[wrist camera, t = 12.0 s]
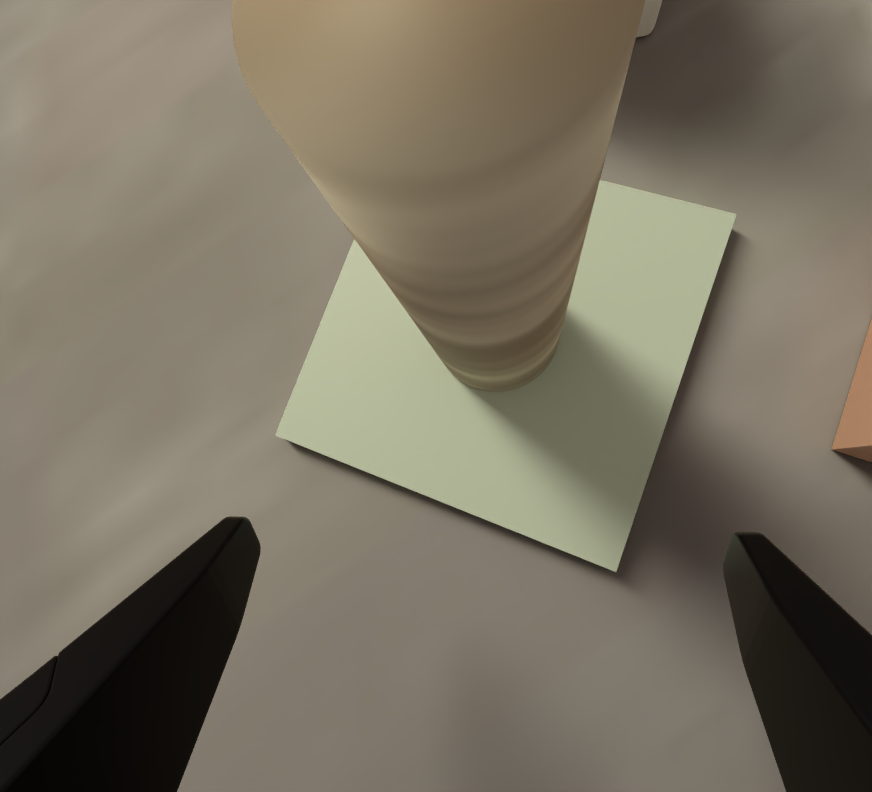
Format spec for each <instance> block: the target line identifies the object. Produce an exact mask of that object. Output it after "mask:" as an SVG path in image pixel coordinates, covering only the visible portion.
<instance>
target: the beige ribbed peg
mask: <svg viewBox="0 0 872 792" xmlns="http://www.w3.org/2000/svg"><path fill="white" fill-rule="evenodd" d="M644 4H645V0H233V14H232V28H233V37H234V46H235V50H236V54H237V58H238V62H239V66H240V69H241V72H242V74H243V76H244V78H245V81H246V83H247V85H248V88H249V90H250V91H251V93H252V95H253V96H254V98H255V99H256V101H257V103H258V104H259V106H260V107H261V109H262V110H263V112H264V113H265V114H266V116H267V117H268V119H269V120H270V121H271V123H272V124H273V126H274V127H275V128H276V130H277V131H278V133H279V134H280V135H281V137H282V138H283V140H284V141H285V142H286V144H287V145H288V147H289V148H290V149H291V151H292V152H293V154H294V155H295V156H296V158H297V159H298V161H299V162H300V163H301V165H302V166H303V168H304V169H305V170H306V172H307V173H308V175H309V176H310V177H311V179H312V180H313V182H314V183H315V184H316V186H317V187H318V189H319V190H320V191H321V193H322V194H323V196H324V197H325V198H326V200H327V201H328V203H329V204H330V205H331V207H332V208H333V210H334V211H335V212H336V214H337V215H338V217H339V218H340V219H341V221H342V222H343V224H344V225H345V226H346V228H347V229H348V231H349V232H350V233H351V235H352V236H353V238H354V239H355V240H356V242H357V243H358V245H359V246H360V247H361V249H362V250H363V252H364V253H365V254H366V256H367V257H368V258H369V260H370V261H371V263H372V264H373V265H374V267H375V268H376V270H377V271H378V272H379V274H380V275H381V277H382V278H383V279H384V281H385V282H386V284H387V285H388V286H389V288H390V289H391V291H392V292H393V293H394V295H395V296H396V298H397V299H398V300H399V302H400V303H401V305H402V306H403V307H404V309H405V310H406V312H407V313H408V314H409V316H410V317H411V319H412V320H413V321H414V323H415V324H416V326H417V327H418V328H419V330H420V331H421V333H422V334H423V335H424V337H425V338H426V340H427V341H428V342H429V344H430V345H431V347H432V348H433V349H434V351H435V352H436V354H437V355H438V356H439V358H440V359H441V361H442V362H443V363H444V365H445V366H446V368H447V369H448V370H449V371H450V372H451V373H452V374H453V375H454V376H455V377H456V378H457V379H458V380H460V381H461V382H463V383H464V384H466V385H468V386H470V387H473V388H476V389H479V390H484V391H491V392H501V391H508V390H513V389H516V388H519V387H521V386H523V385H526V384H528V383H529V382H531V381H532V380H534V379H535V378H536V377H537V376H539V375H540V374H541V373H542V372H543V371H544V370H545V369H546V367H547V366H548V365H549V363H550V362H551V360H552V358H553V356H554V354H555V352H556V349H557V346H558V342H559V338H560V335H561V331H562V327H563V323H564V319H565V315H566V311H567V307H568V303H569V299H570V295H571V291H572V287H573V283H574V279H575V276H576V272H577V268H578V264H579V260H580V256H581V252H582V248H583V244H584V240H585V236H586V232H587V228H588V224H589V220H590V217H591V213H592V209H593V205H594V201H595V197H596V193H597V189H598V185H599V181H600V177H601V173H602V169H603V165H604V161H605V158H606V154H607V150H608V146H609V142H610V138H611V134H612V130H613V126H614V122H615V118H616V114H617V110H618V106H619V102H620V99H621V95H622V91H623V87H624V83H625V79H626V75H627V71H628V67H629V63H630V59H631V55H632V51H633V47H634V43H635V40H636V36H637V32H638V28H639V24H640V20H641V16H642V12H643V8H644Z"/></svg>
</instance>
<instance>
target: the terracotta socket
mask: <svg viewBox="0 0 872 792" xmlns="http://www.w3.org/2000/svg"><path fill="white" fill-rule="evenodd" d="M832 450H835V451H838V452H841V453H844V454H847V455H850V456H853V457H856V458H860V459H863V460H866V461H869V462H872V319H871V322H870V326H869V329H868V332H867V335H866V339H865V342H864V345H863V348H862V352H861V355H860V358H859V361H858V365H857V368H856V371H855V374H854V378H853V381H852V384H851V387H850V391H849V394H848V397H847V401H846V404H845V407H844V410H843V414H842V417H841V420H840V423H839V427H838V430H837V433H836V436H835V440H834V443H833V446H832Z"/></svg>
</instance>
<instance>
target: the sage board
mask: <svg viewBox="0 0 872 792" xmlns="http://www.w3.org/2000/svg"><path fill="white" fill-rule="evenodd" d="M736 215H737V214H734V213H730V212H726V211H722V210H718V209H714V208H710V207H706V206H702V205H698V204H694V203H690V202H686V201H682V200H678V199H674V198H670V197H666V196H662V195H658V194H654V193H650V192H646V191H642V190H638V189H634V188H630V187H626V186H622V185H618V184H614V183H610V182H606V181H602V180H600V181H599V185H598V189H597V193H596V197H595V201H594V205H593V209H592V213H591V217H590V220H589V224H588V228H587V232H586V236H585V240H584V244H583V248H582V252H581V256H580V260H579V264H578V268H577V272H576V276H575V279H574V283H573V287H572V291H571V295H570V299H569V303H568V307H567V311H566V315H565V319H564V323H563V327H562V331H561V335H560V338H559V342H558V346H557V349H556V352H555V354H554V356H553V358H552V360H551V362H550V363H549V365H548V366H547V367H546V369H545V370H544V371H543V372H542V373H541V374H540V375H539V376H537V377H536V378H535V379H534V380H532V381H531V382H529V383H528V384H526V385H523V386H521V387H519V388H516V389H513V390H508V391H501V392H491V391H484V390H479V389H476V388H473V387H470V386H468V385H466V384H464V383H463V382H461V381H460V380H458V379H457V378H456V377H455V376H454V375H453V374H452V373H451V372H450V371H449V370H448V369H447V368H446V366H445V365H444V363H443V362H442V361H441V359H440V358H439V356H438V355H437V354H436V352H435V351H434V349H433V348H432V347H431V345H430V344H429V342H428V341H427V340H426V338H425V337H424V335H423V334H422V333H421V331H420V330H419V328H418V327H417V326H416V324H415V323H414V321H413V320H412V319H411V317H410V316H409V314H408V313H407V312H406V310H405V309H404V307H403V306H402V305H401V303H400V302H399V300H398V299H397V298H396V296H395V295H394V293H393V292H392V291H391V289H390V288H389V286H388V285H387V284H386V282H385V281H384V279H383V278H382V277H381V275H380V274H379V272H378V271H377V270H376V268H375V267H374V265H373V264H372V263H371V261H370V260H369V258H368V257H367V256H366V254H365V253H364V252H363V250H362V249H361V247H360V246H359V245H358V243H357V242H356V240H355V239H354V241H353V244H352V246H351V249H350V251H349V253H348V256H347V258H346V261H345V263H344V266H343V268H342V271H341V273H340V276H339V278H338V281H337V283H336V286H335V288H334V291H333V293H332V296H331V298H330V301H329V303H328V305H327V308H326V310H325V313H324V315H323V318H322V320H321V323H320V325H319V328H318V330H317V333H316V335H315V338H314V340H313V343H312V345H311V348H310V350H309V353H308V355H307V357H306V360H305V362H304V365H303V367H302V370H301V372H300V375H299V377H298V380H297V382H296V385H295V387H294V390H293V392H292V395H291V397H290V400H289V402H288V405H287V407H286V409H285V412H284V414H283V417H282V419H281V422H280V424H279V427H278V429H277V432H276V434H275V435H276V436H278V437H281V438H283V439H286V440H288V441H291V442H293V443H296V444H298V445H301V446H303V447H306V448H308V449H310V450H313V451H315V452H318V453H320V454H323V455H325V456H328V457H330V458H333V459H335V460H338V461H340V462H343V463H345V464H348V465H350V466H353V467H355V468H358V469H360V470H363V471H365V472H368V473H370V474H373V475H375V476H378V477H380V478H383V479H385V480H388V481H390V482H393V483H395V484H398V485H400V486H403V487H405V488H408V489H410V490H413V491H415V492H418V493H420V494H423V495H425V496H428V497H430V498H433V499H435V500H438V501H440V502H443V503H445V504H448V505H450V506H453V507H455V508H458V509H460V510H462V511H465V512H467V513H470V514H472V515H475V516H477V517H480V518H482V519H485V520H487V521H490V522H492V523H495V524H497V525H500V526H502V527H505V528H507V529H510V530H512V531H515V532H517V533H520V534H522V535H525V536H527V537H530V538H532V539H535V540H537V541H540V542H542V543H545V544H547V545H550V546H552V547H555V548H557V549H560V550H562V551H565V552H567V553H570V554H572V555H575V556H577V557H580V558H582V559H585V560H587V561H590V562H592V563H595V564H597V565H600V566H602V567H605V568H607V569H609V570H612V571H614V572H616V571H617V568H618V565H619V562H620V559H621V556H622V553H623V550H624V547H625V544H626V541H627V538H628V535H629V532H630V529H631V527H632V524H633V521H634V518H635V515H636V512H637V509H638V506H639V503H640V500H641V497H642V494H643V491H644V488H645V485H646V482H647V479H648V476H649V473H650V470H651V467H652V464H653V461H654V458H655V455H656V452H657V449H658V446H659V443H660V440H661V437H662V434H663V432H664V429H665V426H666V423H667V420H668V417H669V414H670V411H671V408H672V405H673V402H674V399H675V396H676V393H677V390H678V387H679V384H680V381H681V378H682V375H683V372H684V369H685V366H686V363H687V360H688V357H689V354H690V351H691V348H692V345H693V342H694V339H695V337H696V334H697V331H698V328H699V325H700V322H701V319H702V316H703V313H704V310H705V307H706V304H707V301H708V298H709V295H710V292H711V289H712V286H713V283H714V280H715V277H716V274H717V271H718V268H719V265H720V262H721V259H722V256H723V253H724V250H725V247H726V244H727V241H728V239H729V236H730V233H731V230H732V227H733V224H734V221H735V218H736Z"/></svg>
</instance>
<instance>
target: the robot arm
mask: <svg viewBox="0 0 872 792" xmlns="http://www.w3.org/2000/svg"><path fill="white" fill-rule="evenodd" d="M259 556H260V543H259V540H258V538H257V536H256V533H255V531H254V529H253V527H252V524H251V522H250V520H249V519H248V518H246V517H232V516H231V517H226V518H225V519H223V520H222V521H220V522H219V523H218V524H217V525H216V526H214V527H213V528H212V529H211V530H209V531H208V532H207V533H206V534H204V535H203V536H202V537H201V538H200V539H198V540H197V541H196V542H195V543H193V544H192V545H191V546H190V547H188V548H187V549H186V550H185V551H184V552H182V553H181V554H180V555H179V556H177V557H176V558H175V559H174V560H172V561H171V562H170V563H169V564H168V565H166V566H165V567H164V568H163V569H161V570H160V571H159V572H158V573H156V574H155V575H154V576H153V577H152V578H150V579H149V580H148V581H147V582H145V583H144V584H143V585H142V586H140V587H139V588H138V589H137V590H136V591H134V592H133V593H132V594H131V595H129V596H128V597H127V598H126V599H124V600H123V601H122V602H121V603H120V604H118V605H117V606H116V607H115V608H113V609H112V610H111V611H110V612H108V613H107V614H106V615H105V616H104V617H102V618H101V619H100V620H99V621H97V622H96V623H95V624H94V625H93V626H91V627H90V628H89V629H88V630H86V631H85V632H84V633H83V634H81V635H80V636H79V637H78V638H77V639H75V640H74V641H73V642H72V643H70V644H69V645H68V646H67V647H65V648H64V649H63V650H62V651H61V652H60V653H59V654H58V656H54V657H53V658H52V659H50V660H49V661H48V662H47V663H46V664H44V665H43V666H42V667H41V668H39V669H38V670H37V671H36V672H34V673H33V674H32V675H31V676H29V677H28V678H27V679H26V680H24V681H23V682H22V683H21V684H19V685H18V686H17V687H15V688H14V689H13V690H12V691H10V692H9V693H8V694H7V695H5V696H4V697H3V698H1V699H0V792H177V790H178V788H179V785H180V782H181V780H182V777H183V775H184V772H185V769H186V767H187V764H188V762H189V759H190V756H191V754H192V751H193V749H194V746H195V743H196V741H197V738H198V736H199V733H200V730H201V728H202V725H203V723H204V720H205V717H206V715H207V712H208V710H209V707H210V705H211V702H212V699H213V697H214V694H215V692H216V689H217V686H218V684H219V681H220V679H221V676H222V673H223V671H224V668H225V666H226V663H227V660H228V658H229V655H230V653H231V650H232V647H233V645H234V642H235V640H236V637H237V634H238V631H239V629H240V625H241V622H242V619H243V615H244V612H245V608H246V604H247V601H248V597H249V593H250V590H251V586H252V582H253V579H254V575H255V571H256V568H257V564H258V560H259ZM723 572H724V578H725V583H726V587H727V592H728V597H729V601H730V606H731V610H732V615H733V620H734V624H735V629H736V634H737V638H738V643H739V648H740V652H741V656H742V660H743V664H744V667H745V670H746V673H747V677H748V680H749V683H750V685H751V688H752V691H753V694H754V697H755V700H756V703H757V706H758V709H759V712H760V715H761V718H762V721H763V724H764V727H765V730H766V733H767V736H768V739H769V742H770V745H771V748H772V751H773V754H774V757H775V760H776V763H777V766H778V769H779V771H780V774H781V777H782V780H783V783H784V786H785V789H786V792H872V635H871V634H870V633H869V632H868V631H867V630H866V629H865V628H863V627H862V626H861V625H860V624H859V623H858V622H857V621H856V620H855V619H854V618H853V617H852V616H850V615H849V614H848V613H847V612H846V611H845V610H844V609H843V608H842V607H841V606H840V605H839V604H838V603H836V602H835V601H834V600H833V599H832V598H831V597H830V596H829V595H828V594H827V593H826V592H825V591H824V590H822V589H821V588H820V587H819V586H818V585H817V584H816V583H815V582H814V581H813V580H812V579H811V578H809V577H808V576H807V575H806V574H805V573H804V572H803V571H802V570H801V569H800V568H799V567H798V566H797V565H795V564H794V563H793V562H792V561H791V560H790V559H789V558H788V557H787V556H786V555H785V554H784V553H783V552H781V551H780V550H779V549H778V548H777V547H776V546H775V545H774V544H773V543H772V542H771V541H770V540H769V539H767V538H766V537H765V536H764V535H762V534H760V533H756V532H736V533H734V534H733V536H732V538H731V541H730V544H729V547H728V550H727V553H726V556H725V559H724V563H723Z"/></svg>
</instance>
